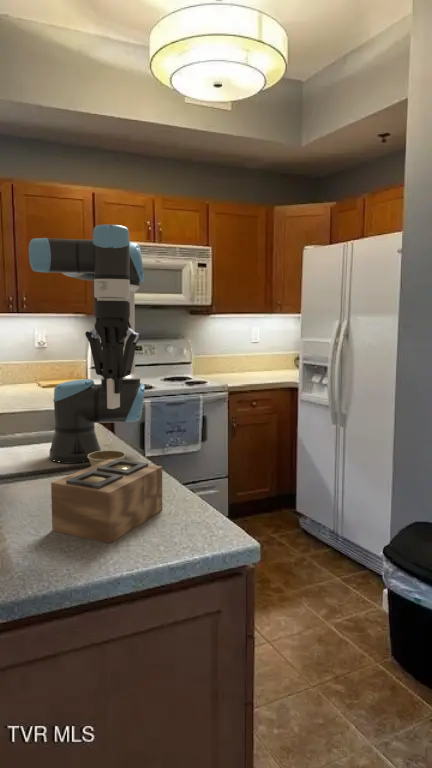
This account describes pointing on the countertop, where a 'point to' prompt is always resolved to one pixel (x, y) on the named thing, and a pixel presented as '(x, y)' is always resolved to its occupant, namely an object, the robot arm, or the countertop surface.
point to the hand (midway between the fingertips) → (113, 407)
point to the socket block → (106, 499)
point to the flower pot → (105, 456)
